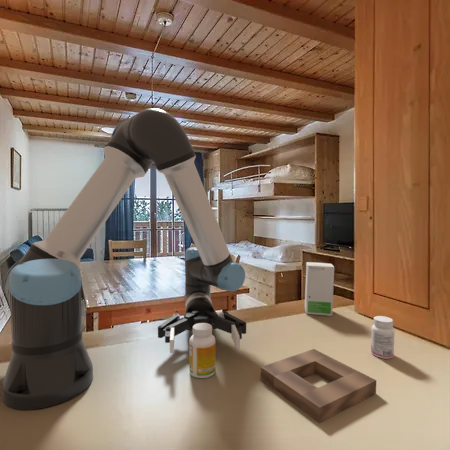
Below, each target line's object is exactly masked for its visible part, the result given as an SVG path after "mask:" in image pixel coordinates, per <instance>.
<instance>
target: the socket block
mask: <svg viewBox="0 0 450 450" xmlns="http://www.w3.org/2000/svg"><path fill="white" fill-rule="evenodd" d="M312 374H317V376H320V377H322V378H324V379H325V380H327V381H328V383H325V384H323V385H321V386H319V387H318V386H315V385H314V384H312V383H311V382H310V381H308V380H306V379H305V378H306V377H308V376H310V375H312ZM260 380H261V381H263V382H264V383H265V384H267V385H268V386H269V387H270V388H272V389H273V390H275V391H276V392H277V393H278V394H280V395H281V396H283V397H284V398H285V399H287V400H288V401H289V402H291V403H292V404H294V405H295V406H296V407H297V408H299V409H300V410H302V411H303V412H305V413H306V414H307V415H309V416H310V417H311V418H312V419H313V420H315V421H316V422H318V423H321V422H324V421H325V420H327V419H329V418H331V417H333V416H336V415H338V414H339V413H341V412H343V411H345V410H347V409H349V408H351V407H353V406H355V405H356V404H359V403H360V402H362V401H364V400H366V399H368V398H369V397H371V396H373V395H376V394H377V379H375V378H373V377H370V376H369V375H367V374H365V373H363V372H360V371H359V370H356V369H355V368H352V367H350V366H349V365H347V364H345V363H343V362H341V361H339V360H337V359H335V358H333V357H331V356H329V355H326V354H325V353H324V352H321V351H319V350H317V349H315V348H313V349H309V350H306V351H303V352H301V353H297V354H295V355H291V356H289V357H286V358H283V359H280V360H277V361H274V362H272V363H271V362H270V363H269V364H265V365H263V366H260Z"/></svg>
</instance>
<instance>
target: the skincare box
mask: <svg viewBox="0 0 450 450" xmlns="http://www.w3.org/2000/svg"><path fill="white" fill-rule="evenodd" d="M305 266H306V267H305V288H304V289H305V291H304V311H305V313H306V315H313V316H315V315H316V316H318V315H319V316H326V317H327V316H329V317H333V308H334V305H333V304H334V286H335V285H334V283H335V282H334V281H335V266H334V265H333V264H332V263H330V262H329V263H328V262H327V263H326V262H315V261H314V262H312V261H307V262H305Z"/></svg>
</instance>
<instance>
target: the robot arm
mask: <svg viewBox="0 0 450 450" xmlns="http://www.w3.org/2000/svg"><path fill="white" fill-rule="evenodd" d="M103 153H104V159H103V160H102V161H101V163H100V164H99V165H98V167H97V168H96V169H95V171H94V172H93V174H92V175H91V177H89V179H88V180H87V182H86V184H85V185H84V186H83V187H82V188H81V190H80V191H79V193H78V194H77V195H76V197H75V198H74V200H73V201H72V203H71V204H70V205H69V206H68V208H67V209H66V211H65V212H64V213H63V215H62V216H61V217H60V218H59V220H58V221H57V223H56V224H55V225H54V227H53V228H52V230H51V231H50V232H49V233H48V235H47V236H46V238H45V239H43V240H39V241H35V242H33V243H32V244H31V245H30V247H29V248H28V250H27V251H26V253H25V254H24V255H23V256H22V258H21V259H19V260H18V261H16V262H15V263H14V264H13V265H11V266H10V267H9V269H8V271H7V273H6V274H5V276H4V283H3V291H4V294H5V298H6V299H7V302H8V305H9V309H10V310H9V311H10V327H11V346H12V347H11V348H12V349H11V351H12V353H11V355H10V356H11V357H10V360H9V361H8V362H9V363H8V366H7V369H6V373H5V376H4V379H3V381H2V387H1V392H2V395H1V397H2V401H3V403H4V404H5V405H7V406H8V407H10V408H12V409H15V410H16V409H18V410H36V409H37V410H39V409H43V408H49V407H51V406H52V407H53V406H56V405H59V404H61V403H65V402H67V401H69V400H71V399H73V398H75V397H77V396H79V395H80V394H81V393H83V392H84V391H85V390H86V389H88V388H89V387H90V385H91V384H92V381H93V379H94V366H93V363H92V359H91V358H90V356H89V353H88V350H87V347H86V346H85V342H84V340H83V339H84V338H83V310H82V309H83V307H82V286H83V283H82V282H83V279H82V275H81V270H82V264H81V258H82V257H83V256H84V254H85V252H86V251H87V249H88V248H89V246H90V245H91V243H92V242H93V241H94V240H95V238H96V236H97V235H98V233H99V232H100V230H101V229H102V228H103V226H104V225H105V223H106V222H107V220H108V219H109V218H110V216H111V214H112V213H113V211H114V210H115V208H116V207H117V205H118V204H119V203H120V202H121V200H122V198H123V197H124V195H126V193H127V191H128V190H129V188H130V187H131V185H132V183H133V182H134V181H135V179H137V178H139V179H140V178H143V177H145V176H146V174H147V172H148V171H149V170H150V168H151V166H152V165H153V164H154V165H155V168H156V170H157V172H158V173H160V174H163V175H164V177H165V179H166V181H167V184H168V187H169V189H170V191H171V193H172V195H173V198H174V199H175V203H176V205H177V206H178V209H179V212H180V213H181V215H182V218H183V221H184V222H185V225H186V227H187V229H188V233H189V235H190V236H191V239H192V241H193V243H194V245H195V247H194V246H193V247H191V246H190V247H188V248H187V249H185V254H184V258H185V259H184V273H185V274H184V275H185V276H184V277H185V278H184V279H185V283H184V285H185V286H184V290H185V291H184V292H185V293H184V303H185V314H184V315H180V314H179V312H174V313H173V314H172V316H171V317H169V318H168V319H166V320H165V321H164V322H162V323H161V324H159V325H157V338H159V339H161V338H164V343H165V344H169V354H174V351H175V337H176V336H178V335H179V334H182V333H184V332H185V331H189V332H190V331H191V330H192V331H193V325H195V324H198V323H208V324H210V325H212V330H217V329H218V330H220V331H223V332H225V333H228V334H230V335H231V339H232V342H233V344H234V347H235V350H240V348H241V340H242V339H243V335H246V334H247V321H245V320H242V319H241V318H238V317H236V316H234V315H232V314H231V313H229V312H228V311H226V310H224V311H222V313H221V314H218V313H217V312H215V308H214V305H213V302H212V299H211V297H212V296H211V286H212V287H215V288H217V289H219V290H221V291H226V292H227V291H228V292H236V291H238V290H239V289H240V288H241V287H242V286H243V285H244V283H245V280H246V271H245V268H244V266H243V265H241V264H240V263H238V262H237V261H236V262H235V261H234V260H233V258H232V255H231V253H230V250H229V249H228V246H227V243H226V241H225V238H224V235H223V233H222V230H221V227H220V225H219V223H218V220H217V217H216V216H215V215H216V214H215V212H214V210H213V206H212V205H211V202H210V200H209V198H208V197H209V196H208V195H207V192H206V190H205V186H204V184H203V182H202V180H201V176H200V174H199V172H198V170H197V167H196V165H195V160H196V158H197V157H196V156H197V155H196V153H195V150H194V148H193V145H192V142H191V140H190V139H189V137H188V135H187V133H186V131H185V129H184V128H183V126H182V125H181V123H180V122H179V121H178V120H177V119H176V118H175V116H173V115H172V114H171V113H169V112H167V111H166V110H163V109H160V108H154V107H153V108H151V107H150V108H145V109H143V110H140V111H139V112H138V113H135V114H134V115H132V116H131V117H129V118H126V119H124V120H122V121H121V122H119V123H118V124H117V125H116V126H115V127H114V129H113V130H112V134H111V136H110V139H109V141H108V142H107V143H106V145H105V146H104V148H103Z"/></svg>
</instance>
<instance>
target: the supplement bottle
mask: <svg viewBox="0 0 450 450" xmlns="http://www.w3.org/2000/svg"><path fill="white" fill-rule="evenodd" d="M212 333H213V329H212V325H210V324H208V323H198V324H195V325H193V329H192V335H191V336H190V337H189V340H188V341H189V343H188V346H189V347H188V349H189V351H188V352H189V356H188V357H189V358H188V360H189V362H188V363H189V364H188V365H189V366H188V367H189V368H188V369H189V370H188V371H189V374H190V375H191V377H194V378H197V379H207V378H211V377H212V376H213V375H214V374H215V373H216V368H217V367H216V365H217V364H216V337H215V335H213V334H212Z"/></svg>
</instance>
